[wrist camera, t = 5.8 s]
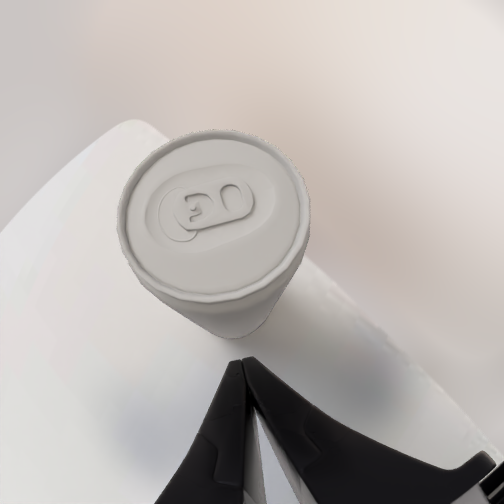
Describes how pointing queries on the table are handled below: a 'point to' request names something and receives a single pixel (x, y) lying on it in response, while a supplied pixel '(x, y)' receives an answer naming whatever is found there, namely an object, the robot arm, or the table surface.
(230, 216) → the beverage can
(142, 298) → the table surface
